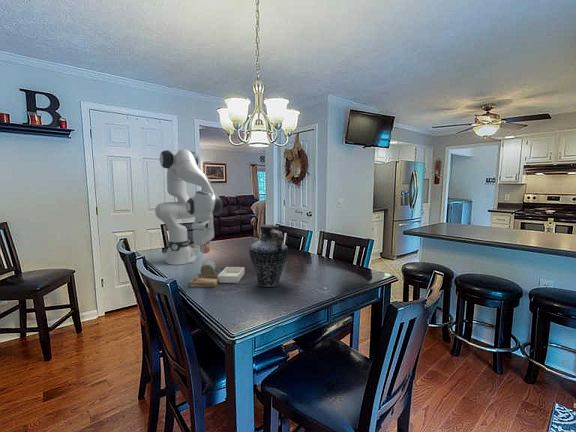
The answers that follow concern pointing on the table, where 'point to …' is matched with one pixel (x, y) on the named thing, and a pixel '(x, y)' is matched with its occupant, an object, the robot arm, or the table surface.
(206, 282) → the tray
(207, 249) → the ball
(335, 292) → the table surface
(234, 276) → the white storage bin
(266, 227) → the jug
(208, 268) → the ceramic mug
